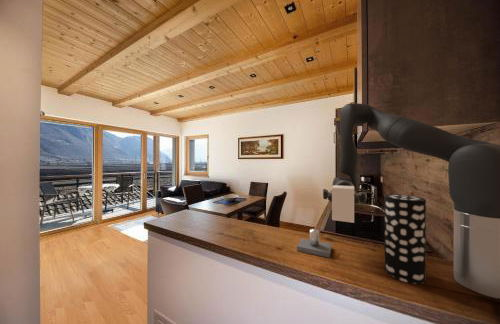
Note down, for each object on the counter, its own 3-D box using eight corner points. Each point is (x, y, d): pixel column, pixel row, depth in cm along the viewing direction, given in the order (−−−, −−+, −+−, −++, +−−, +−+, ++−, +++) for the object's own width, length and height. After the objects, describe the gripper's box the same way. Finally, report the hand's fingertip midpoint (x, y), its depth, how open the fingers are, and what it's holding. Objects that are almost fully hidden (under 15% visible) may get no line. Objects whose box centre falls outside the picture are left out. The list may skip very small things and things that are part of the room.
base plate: (331, 248, 64) (331, 229, 64) (329, 257, 58) (329, 236, 58) (301, 242, 69) (301, 224, 69) (296, 250, 62) (296, 231, 62)
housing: (353, 217, 61) (353, 186, 61) (354, 222, 56) (354, 188, 56) (333, 214, 64) (333, 185, 64) (332, 219, 59) (331, 187, 58)
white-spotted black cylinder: (426, 288, 44) (426, 202, 44) (382, 274, 49) (382, 197, 49) (424, 272, 50) (425, 196, 50) (386, 261, 55) (386, 193, 55)
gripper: (324, 180, 76) (317, 185, 61) (366, 182, 69) (370, 188, 54) (324, 199, 76) (318, 209, 61) (366, 202, 69) (370, 214, 54)
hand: (342, 199), depth 58 cm, fingers closed on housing, 6 cm apart
